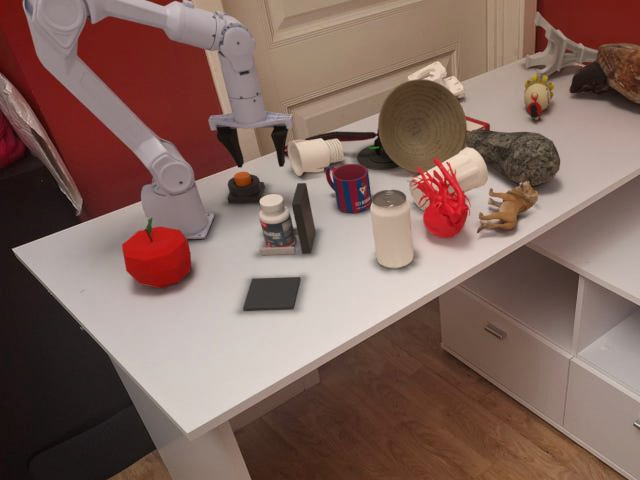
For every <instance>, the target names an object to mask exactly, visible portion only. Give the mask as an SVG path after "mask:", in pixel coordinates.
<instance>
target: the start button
mask: <svg viewBox="0 0 640 480" xmlns="http://www.w3.org/2000/svg"><path fill="white" fill-rule="evenodd" d="M250 174H251V173H250V172H248V171H239V172H236V173H234V174H233V177H234V179H235V183H236V185H237V186H246V185H249V184H251V183H252V181H251V177H250Z"/></svg>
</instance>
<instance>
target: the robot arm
mask: <svg viewBox="0 0 640 480" xmlns="http://www.w3.org/2000/svg"><path fill="white" fill-rule="evenodd" d="M22 7H23V10H24V14H25V17H26V20H27V24H28V28H29V31H30V35H31V39H32V42H33V46H34V51H35V54H36V56H37V58H38V60H39V62H40V64H42V66H43V68H45V69H46V70H47V71H48V72H49V73H50V74H51V75H52V76H54V78H55V79H56V80H57V81H59V82H60V84H61V85H63V86H64V87H65V88H66V89H67V90H68V91H69V92H70V93H71V94H72V95H73V97H75V98H76V99H77V100H78V101H79V102H80V103H81V104H82V105H84V106H85V108H86V109H88V110H89V111H90V113H92V114H93V115H94V116H95V117H96V118H97V119H98V120H99V121H100V122H101V123H102V124H103V125H104V126H105V127H106V128H108V129H109V130H110V131H111V133H113V134H114V136H115V137H117V138H118V139H119V140H120V141H121V142H122V143H123V144H124V145H126V147H127V148H128V149H129V150H131V151H132V153H133V154H134V155H135V156H136V157H137V159H139V161H141V163H142V164H143V165H144V167H145V168H146V169H147V171H149V173H150V175H151V176H152V179H151V183H149V184H145V185H143V186H142V188H141V192H140V201H141V207H142V210H143V212H144V215H145V218H146V220H147V221H148V220H149V219H151V218H152V217H153V218H152V224H151V225H152V228H155V227H160V226H161V227H166V228H172V229H177V230H180V231H181V232H182V233H183V235H184V236H185V237H186V239H187V240H200V239H201V240H202V239H203V240H204V239H206V237H207V234H208V233H209V230H210V227H211V226H212V224H213V220H214V219H215V213H206V211H205V209H204V205H203V202H202V198H201V195H200V193H199V189H198V186H197V182H196V179H195V172H194V169H193V167H192V166H191V164H190V163H189V162H187V161H186V160H185V158H184V157H183V156H182V154H181V152H180V151H179V150H178V148H177V146H176V145H175V144H174V143H173V142H171V141H169V140H167V139H163V138H162V137H160V136H158V135H157V134H156V133H155V132H154V131H153V130H152V129H151V128H150V127H148V126H147V125H146V124H145V122H143V121H142V120H141V118H140V117H138V116H137V115H136V113H134V112H133V111H132V110H131V109H130V108H129V106H128V105H127V104H126V103H125V102H123V100H122V99H121V98H120V97H119V96H118V95H117V93H115V92H114V91H113V90H112V89H111V88H110V87H109V86H108V85H107V84H106V83H105V82H104V80H102V79H101V78H100V77H99V76H98V75H97V74H96V73H95V72H94V71H93V70H92V69H91V68H90V66H88V65H87V64H86V63H85V62H84V61H83V59H81V58H80V57H79V55H78V44H79V43H78V42H79V37H80V35H81V33H82V32H83V29H84V28H85V25H86V22H87V19H88V21H89V22H90V24H92V25H95V24H97V23H98V22H101V21H102V20H103V19H106V18H108V17H112V18H117V19H121V20H124V21H129V22H133V23H136V24H141V25H145V26H150V27H154V28H158V29H162V31H164V33H165V34H166V37H168V39H170V41H173V42H177V43H181V44H184V45H188V46H192V47H195V48H198V49H202V50H206V51H209V52H214V51H217V55H218V59H219V63H220V70H221V74H222V78H223V81H224V85H225V89H226V94H227V97H228V101H229V106H230V109H231V112H230V113H223V114H217V115H216V114H215V115H210V116H209V118H208V119H207V121H208V124H209V125H208V126H209V128H210V131H216V132H217V133H216V138H217V140H218V141H219V142H220V143H221V144H222V145H223V146H224V147H225V149H226V150H227V151H228V153H229V154H230V155H231V157H232V159H233V160H234V162H235V164H236V167H237V168H240V169H241V168H243V165H244V164H245V160H244V156H243V151H242V148H241V145H240V139H239V133H238V129H244V130H245V129H246V130H251V129H272V131H271V134H270V137H271V140H272V142H273V145H274V148H275V153H276V157H277V164H278V166H279V168H283V167H284V166H285V163H286V157H285V155H286V154H285V146H286V142H287V137H288V132H289V130H293V128H294V126H295V121H294V116H293V113H280V112H274V111H267V110H266V106H265V101H264V97H263V91H262V87H261V83H260V79H259V73H258V69H257V64H256V63H255V61H256V60H255V57H254V53H255V52H256V48H257V40H256V38H254V36H253V34H252V31H251V30H250V29H249V28H248V27H247V26H246V25H244V24H243V23H242V22H241V21H239V20H238V19H236V18H235V17H234V16H231V15H230V14H228V13H226V12H222V11H219V10H215V12H211V11H208V10H206V9H202V8H199V7H195V3H194V2H192V1H191V0H182V2H180V1H177V0H174V1H171V2H169V3H168V4H166V5H161V4H158V3H155V2H153V1H150V0H22Z"/></svg>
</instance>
